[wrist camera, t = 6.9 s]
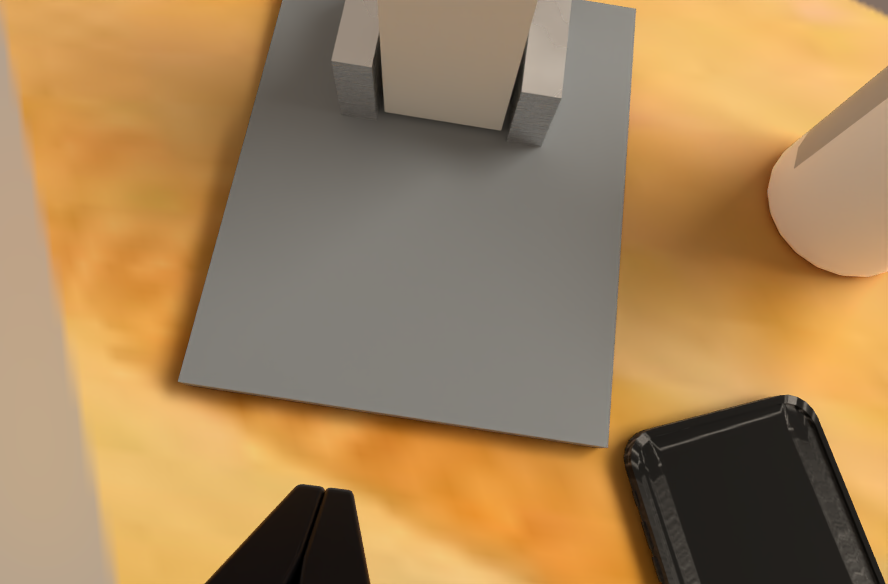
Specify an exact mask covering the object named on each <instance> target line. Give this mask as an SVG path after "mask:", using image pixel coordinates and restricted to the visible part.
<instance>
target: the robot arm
mask: <svg viewBox="0 0 888 584" xmlns="http://www.w3.org/2000/svg"><path fill="white" fill-rule="evenodd" d="M205 584H370V579H369V574H368V569H367V564H366V558H365V553H364V548H363V542H362V537H361V532H360V527H359V521H358V516H357V511H356V505H355V500H354V495H353V493H352V491H350V490H345V489H337V488H328V489H326V491H325V490H324V488H323V487H321V486H313V485H305V484H300V485H297V486H296V487H295V488H294V489H293V490H292V491H291V492H290V493H289V494H288V495H287V496H286V497H285V498H284V500H283V501H282V502H281V503H280V504H279V505H278V506H277V507H276V508H275V509H274V510H273V511H272V512H271V513H270V514H269V516H268V517H267V518H266V519H265V520H264V521H263V522H262V523H261V524H260V525H259V526H258V527H257V528H256V529H255V530H254V532H253V533H252V534H251V535H250V536H249V537H248V538H247V539H246V540H245V541H244V542H243V543H242V544H241V545H240V546H239V548H238V549H237V550H236V551H235V552H234V553H233V554H232V555H231V556H230V557H229V558H228V559H227V560H226V561H225V562H224V564H223V565H222V566H221V567H220V568H219V569H218V570H217V571H216V572H215V573H214V574H213V575H212V576H211V577H210V578H209V580H208V581H207V582H206V583H205Z"/></svg>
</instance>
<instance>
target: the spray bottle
mask: <svg viewBox="0 0 888 584" xmlns="http://www.w3.org/2000/svg"><path fill="white" fill-rule="evenodd" d="M767 194H768V201H769V209H770V214H771V216H772V218H773V220H774V222H775V225H776V227H777V229H778V231H779V233H780V235H781V236H782V237H783V238H784V239H785V241H786V242H787V243H788V244H789V245H790V246H791V248H792V249H793V250H794V251H795V252H796V253H797V254H798V255H800V256H801V257H803V258H804V259H806V260H807V261H809V262H810V263H812V264H813V265H814V266H816V267H818V268H821V269H824V270H826V271H829V272H832V273H835V274H838V275H842V276H859V277H871V276H874V275H877V274H881V273H884V272H888V66H887V67H886V68H885V69H883V70H882V71H881V72H880V73H879V74H877V75H876V76H875V77H874V78H873V79H871V80H870V81H869V82H868V83H866V84H865V85H864V86H863V87H862V88H860V89H859V90H858V91H857V92H856V93H854V94H853V95H852V96H851V97H849V98H848V99H847V100H846V101H845V102H843V103H842V104H841V105H840V106H839V107H837V108H836V109H835V110H834V111H832V112H831V113H830V114H829V115H828V116H826V117H825V118H824V119H823V120H822V121H820V122H819V123H818V124H817V125H815V126H814V127H813V128H812V129H811V130H809V131H808V132H807V133H806V134H805V135H803V136H802V137H801V138H800V139H798V140H797V141H796V142H795V143H794V144H792V145H791V146H790V147H789V148H788V149H786V150H785V151H784V152H783V154H782V155H781V157H780V158H779V160H778V161H777V162H776V164H775V165H774V167H773V169H772V172H771V177H770V181H769V186H768V190H767Z"/></svg>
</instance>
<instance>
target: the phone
mask: <svg viewBox="0 0 888 584" xmlns="http://www.w3.org/2000/svg"><path fill="white" fill-rule="evenodd" d="M624 462H625V468H626V471H627V475H628V478H629V481H630V484H631V487H632V490H633V491H632V493H633V496H634V499H635V502H636V506H638V510H639V513H640V516H641V519H642V522H641V523H642V526H643V529H644V532H645V536H646V539H647V542H648V545H649V548H650V549H651V551H652V554H653V557H652V560H653V563H654V566H655V569H656V572H657V576H658V579H659V581H660V582H661V583H662V584H885V581H884V579H883V577H882V574H881V572H880V569H879V567H878V564H877V562H876V559H875V557H874V554H873V552H872V550H871V547H870V545H869V542H868V540H867V537H866V535H865V532H864V530H863V527H862V525H861V522H860V520H859V518H858V515H857V513H856V510H855V508H854V505H853V503H852V500H851V498H850V495H849V493H848V490H847V488H846V486H845V483H844V481H843V478H842V476H841V473H840V471H839V468H838V466H837V463H836V461H835V459H834V456H833V454H832V451H831V449H830V446H829V444H828V441H827V439H826V436H825V434H824V431H823V429H822V427H821V424H820V422H819V419H818V417H817V415H816V414H815V412H814V410H813V409H812V408H811V407H810V406H809V405H808V404H807V403H806V402H805V401H803V400H802V399H800V398H798V397H795V396H791V395H780V396H774V397H769V398H765V399H761V400H757V401H753V402H750V403H746V404H742V405H738V406H734V407H730V408H727V409H723V410H719V411H715V412H711V413H708V414H704V415H700V416H696V417H692V418H688V419H685V420H681V421H677V422H673V423H669V424H665V425H662V426H658V427H654V428H650V429H646V430H643V431H641V432H639V433H636V434H635V435H634V436H633V437H632V438H631V439H630V440H629V442H628V444H627V446H626V448H625V453H624Z"/></svg>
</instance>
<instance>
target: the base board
mask: <svg viewBox="0 0 888 584" xmlns="http://www.w3.org/2000/svg"><path fill="white" fill-rule="evenodd" d="M344 4H345V0H282V4H281V8H280V11H279V15H278V19H277V22H276V26H275V30H274V33H273V37H272V40H271V44H270V48H269V51H268V55H267V59H266V62H265V66H264V70H263V73H262V77H261V81H260V84H259V88H258V91H257V95H256V99H255V102H254V106H253V110H252V113H251V117H250V121H249V124H248V128H247V131H246V135H245V139H244V142H243V146H242V150H241V153H240V157H239V161H238V164H237V168H236V172H235V175H234V179H233V182H232V186H231V190H230V193H229V197H228V201H227V204H226V208H225V212H224V215H223V219H222V223H221V226H220V230H219V233H218V237H217V241H216V244H215V248H214V252H213V255H212V259H211V263H210V266H209V270H208V273H207V277H206V281H205V284H204V288H203V292H202V295H201V299H200V303H199V306H198V310H197V314H196V317H195V321H194V324H193V328H192V332H191V335H190V339H189V343H188V346H187V350H186V354H185V357H184V361H183V364H182V368H181V372H180V375H179V379H178V382H180V383H183V384H186V385H190V386H197V387H203V388H210V389H216V390H223V391H229V392H236V393H242V394H249V395H255V396H262V397H269V398H275V399H282V400H288V401H295V402H301V403H308V404H314V405H321V406H327V407H334V408H340V409H347V410H353V411H360V412H366V413H373V414H380V415H386V416H393V417H399V418H406V419H412V420H419V421H425V422H432V423H438V424H445V425H451V426H458V427H464V428H471V429H477V430H484V431H490V432H497V433H504V434H510V435H517V436H523V437H530V438H536V439H543V440H549V441H556V442H562V443H569V444H575V445H582V446H588V447H595V448H608V438H609V423H610V407H611V391H612V376H613V360H614V344H615V329H616V313H617V297H618V282H619V266H620V250H621V234H622V219H623V203H624V187H625V172H626V156H627V140H628V125H629V109H630V93H631V78H632V62H633V46H634V31H635V15H636V9H634V8H628V7H622V6H615V5H609V4H603V3H597V2H591V1H585V0H572V2H571V11H570V21H569V31H568V41H567V51H566V60H565V70H564V80H563V90H562V99H561V101H560V103H559V106H558V108H557V110H556V113H555V115H554V117H553V120H552V122H551V125H550V127H549V129H548V132H547V134H546V136H545V139H544V141H543V143H542V146H541V147H538V146H532V145H526V144H520V143H514V142H507V141H506V140H507V133H508V125H509V117H510V110H511V102H512V94H513V90H512V94H511V97H510V101H509V104H508V108H507V112H506V115H505V119H504V122H503V126H502V129H501V131H500V130H493V129H487V128H481V127H475V126H469V125H462V124H456V123H450V122H444V121H438V120H432V119H425V118H419V117H413V116H407V115H401V114H394V113H388V112H385V110H384V95H383V91H382V96H381V100H380V105H379V110H378V115H377V120H371V119H365V118H359V117H352V116H346V115H341V110H340V104H339V99H338V94H337V89H336V83H335V78H334V73H333V68H332V63H331V59H332V55H333V51H334V47H335V42H336V38H337V34H338V30H339V26H340V21H341V17H342V13H343V9H344Z"/></svg>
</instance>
